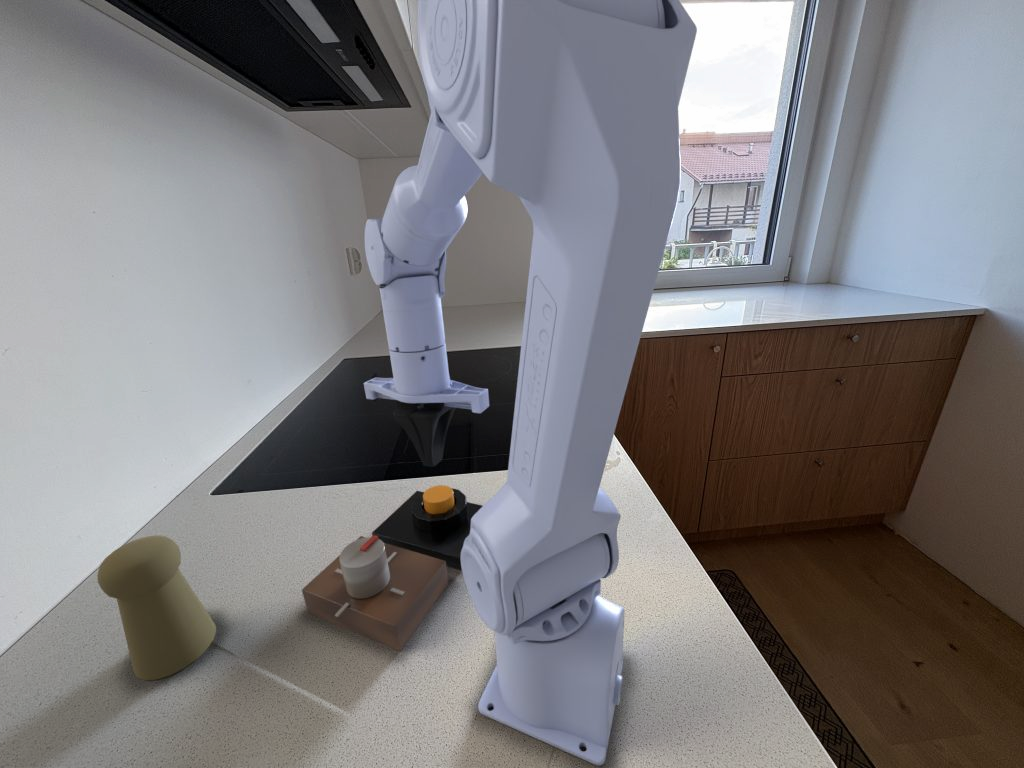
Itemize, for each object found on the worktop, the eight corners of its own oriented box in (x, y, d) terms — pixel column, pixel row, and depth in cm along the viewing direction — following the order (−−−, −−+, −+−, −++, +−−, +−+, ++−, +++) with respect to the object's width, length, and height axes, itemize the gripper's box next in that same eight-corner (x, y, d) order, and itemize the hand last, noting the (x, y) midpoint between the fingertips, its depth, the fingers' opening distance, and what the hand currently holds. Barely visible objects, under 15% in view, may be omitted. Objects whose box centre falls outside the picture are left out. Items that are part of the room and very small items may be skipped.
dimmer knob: (370, 604, 38) (363, 570, 36) (337, 591, 39) (328, 558, 38) (398, 572, 41) (392, 540, 40) (366, 562, 43) (360, 530, 41)
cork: (116, 687, 35) (61, 584, 31) (158, 625, 40) (116, 531, 37) (196, 671, 36) (153, 568, 32) (227, 612, 41) (193, 519, 38)
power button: (460, 500, 52) (458, 488, 51) (444, 517, 49) (442, 505, 48) (435, 494, 53) (433, 482, 52) (418, 511, 50) (416, 499, 49)
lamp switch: (498, 520, 53) (496, 496, 51) (462, 571, 45) (459, 544, 44) (418, 501, 57) (415, 478, 56) (373, 544, 49) (368, 519, 48)
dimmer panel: (448, 583, 43) (445, 559, 42) (392, 663, 35) (386, 635, 34) (365, 557, 48) (360, 534, 46) (298, 623, 40) (291, 597, 39)
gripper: (498, 339, 44) (505, 455, 48) (386, 333, 49) (402, 437, 54) (464, 357, 38) (476, 488, 42) (341, 349, 43) (364, 464, 48)
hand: (433, 462), depth 48 cm, fingers closed
